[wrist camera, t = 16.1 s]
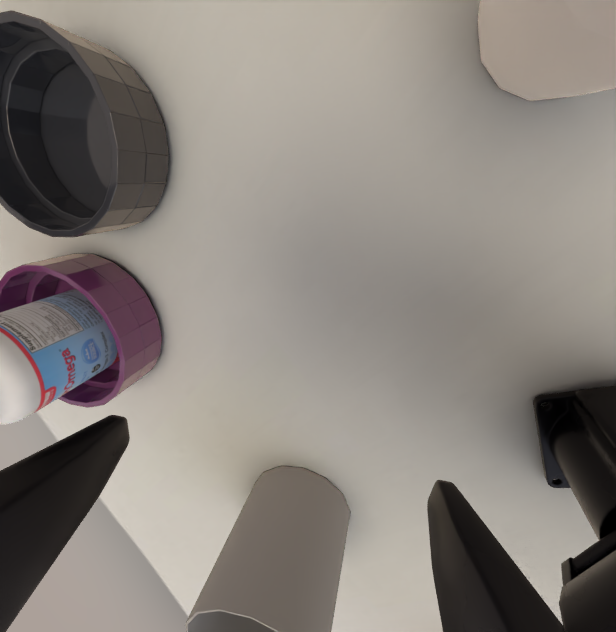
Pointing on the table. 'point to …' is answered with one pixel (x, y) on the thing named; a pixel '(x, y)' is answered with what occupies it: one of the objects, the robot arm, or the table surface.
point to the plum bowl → (111, 302)
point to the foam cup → (549, 46)
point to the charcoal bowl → (75, 133)
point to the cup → (278, 559)
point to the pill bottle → (50, 351)
